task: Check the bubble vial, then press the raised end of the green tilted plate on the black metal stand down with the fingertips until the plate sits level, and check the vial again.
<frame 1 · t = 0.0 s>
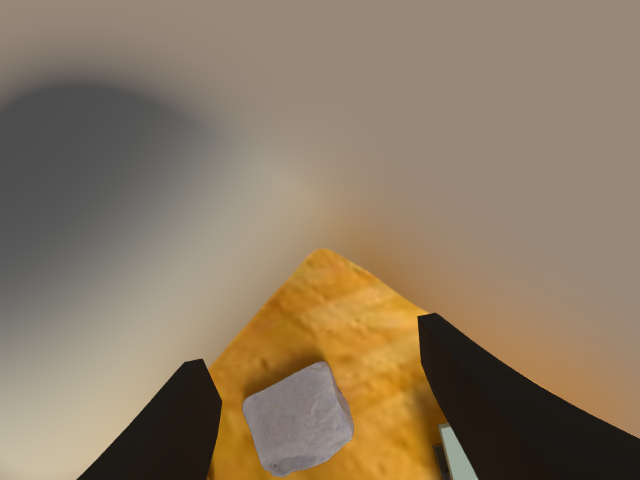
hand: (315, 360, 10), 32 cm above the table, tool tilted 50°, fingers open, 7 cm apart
stone block: (302, 418, 38), on the table
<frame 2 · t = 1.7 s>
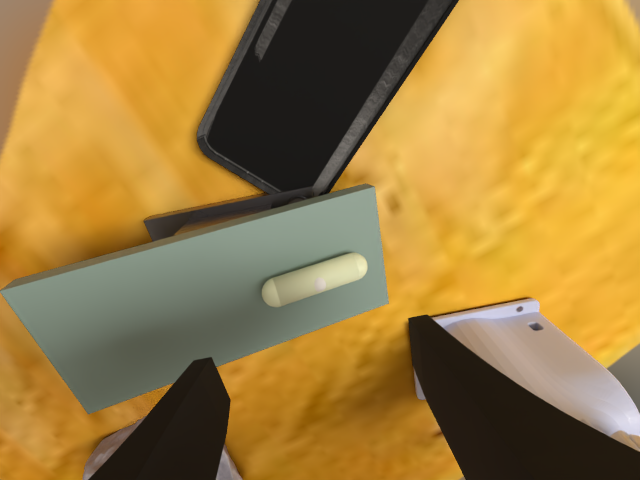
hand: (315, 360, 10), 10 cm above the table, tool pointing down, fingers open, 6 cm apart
tribrach base: (246, 251, 20), on the table
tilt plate: (233, 296, 15), point 5 cm above the table, hinge at 14.0°
stone block: (187, 450, 28), on the table
phone: (324, 62, 16), on the table
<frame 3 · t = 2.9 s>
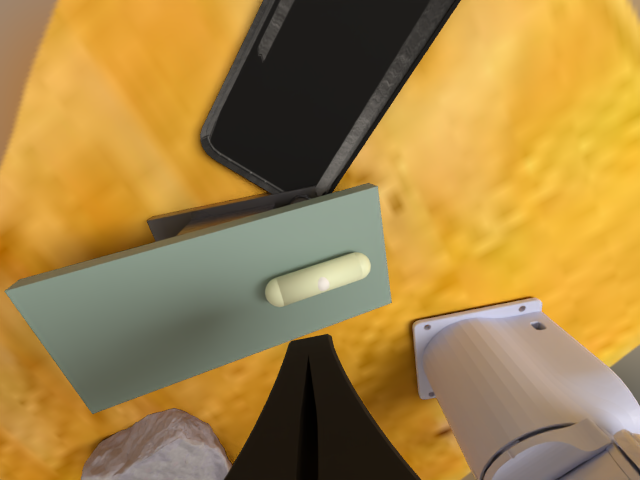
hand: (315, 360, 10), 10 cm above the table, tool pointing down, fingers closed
tribrach base: (249, 251, 20), on the table
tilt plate: (237, 296, 15), point 5 cm above the table, hinge at 14.0°
stone block: (185, 452, 28), on the table
phone: (326, 61, 16), on the table
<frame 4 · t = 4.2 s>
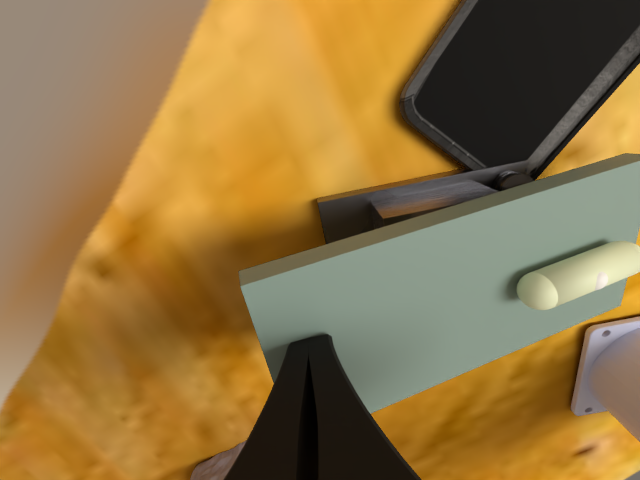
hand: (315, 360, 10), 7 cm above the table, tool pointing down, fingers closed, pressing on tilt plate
tribrach base: (420, 241, 16), on the table
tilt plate: (475, 295, 12), point 5 cm above the table, hinge at 13.5°, touching gripper
stone block: (284, 475, 25), on the table
phone: (562, 2, 13), on the table
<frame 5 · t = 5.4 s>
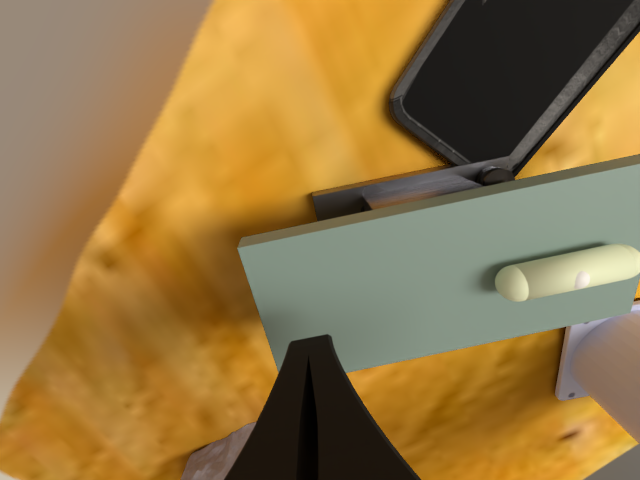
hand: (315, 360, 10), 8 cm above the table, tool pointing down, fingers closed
tribrach base: (409, 233, 17), on the table
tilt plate: (453, 281, 13), point 5 cm above the table, hinge at 0.9°
stone block: (277, 463, 26), on the table
phone: (539, 8, 14), on the table
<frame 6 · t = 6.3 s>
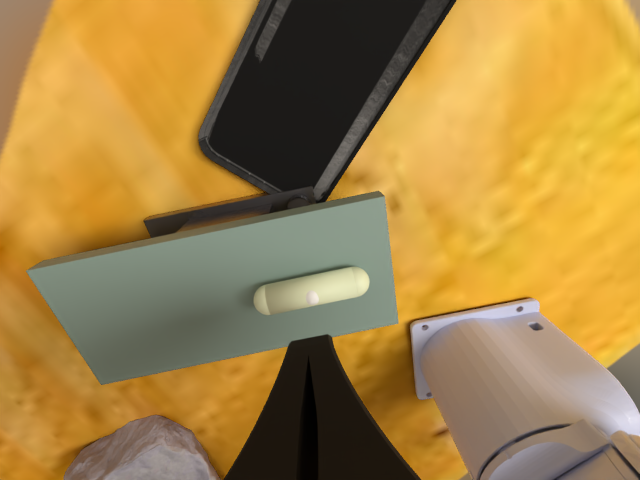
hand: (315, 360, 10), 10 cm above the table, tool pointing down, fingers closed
tribrach base: (246, 251, 20), on the table
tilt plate: (230, 297, 15), point 5 cm above the table, hinge at 0.9°
stone block: (169, 458, 28), on the table
phone: (324, 61, 16), on the table
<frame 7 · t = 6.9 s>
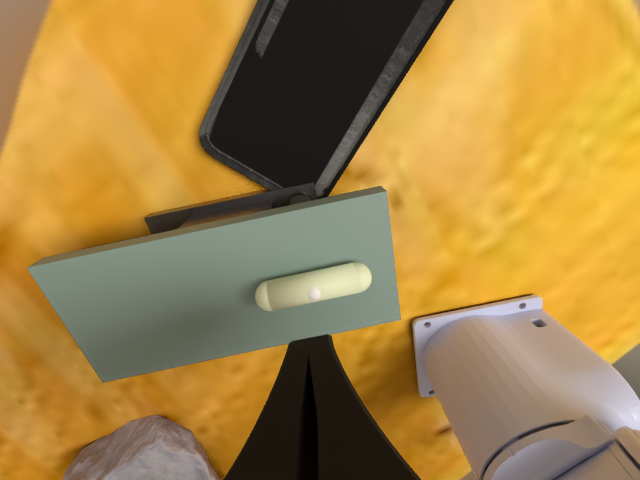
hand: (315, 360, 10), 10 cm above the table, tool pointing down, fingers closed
tribrach base: (248, 248, 20), on the table
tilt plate: (231, 293, 15), point 5 cm above the table, hinge at 0.9°
stone block: (168, 458, 28), on the table
phone: (325, 57, 16), on the table
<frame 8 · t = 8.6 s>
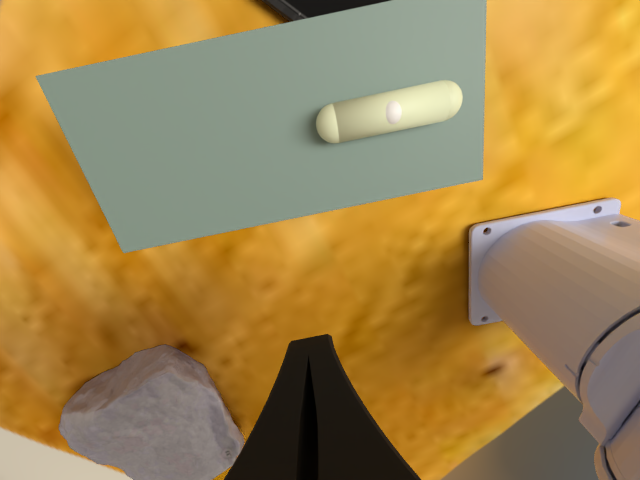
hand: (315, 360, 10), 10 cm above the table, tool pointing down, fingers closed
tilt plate: (283, 133, 12), point 5 cm above the table, hinge at 0.9°
stone block: (178, 400, 25), on the table
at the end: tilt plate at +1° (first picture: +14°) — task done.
